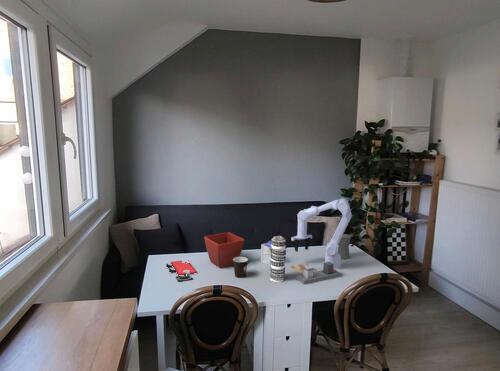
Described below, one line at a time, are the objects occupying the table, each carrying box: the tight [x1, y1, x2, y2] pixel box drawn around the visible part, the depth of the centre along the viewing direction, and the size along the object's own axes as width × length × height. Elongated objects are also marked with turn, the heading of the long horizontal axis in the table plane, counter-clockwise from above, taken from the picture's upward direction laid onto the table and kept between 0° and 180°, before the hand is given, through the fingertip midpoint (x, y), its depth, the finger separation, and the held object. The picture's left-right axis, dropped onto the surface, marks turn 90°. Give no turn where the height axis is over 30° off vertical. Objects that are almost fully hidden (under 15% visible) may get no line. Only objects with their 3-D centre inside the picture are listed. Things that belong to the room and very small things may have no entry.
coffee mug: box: [233, 256, 250, 279], centre depth 200 cm, size 12×9×10 cm
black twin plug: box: [322, 261, 334, 275], centre depth 200 cm, size 4×4×8 cm
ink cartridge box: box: [260, 240, 272, 267], centre depth 218 cm, size 10×6×14 cm, turn 38°
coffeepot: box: [336, 230, 358, 260], centre depth 231 cm, size 15×9×18 cm, turn 94°
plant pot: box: [204, 232, 245, 269], centre depth 217 cm, size 19×19×17 cm
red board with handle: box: [165, 260, 198, 282], centre depth 206 cm, size 30×3×15 cm
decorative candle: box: [269, 235, 287, 283], centre depth 194 cm, size 9×9×25 cm
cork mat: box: [290, 262, 317, 274], centre depth 211 cm, size 12×12×1 cm
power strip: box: [295, 269, 342, 285], centre depth 197 cm, size 26×8×3 cm, turn 116°
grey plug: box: [302, 264, 315, 279], centre depth 194 cm, size 4×4×8 cm
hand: (301, 250), depth 217 cm, fingers open, 7 cm apart
